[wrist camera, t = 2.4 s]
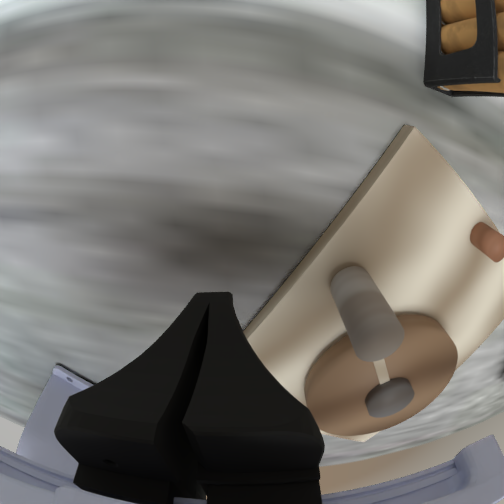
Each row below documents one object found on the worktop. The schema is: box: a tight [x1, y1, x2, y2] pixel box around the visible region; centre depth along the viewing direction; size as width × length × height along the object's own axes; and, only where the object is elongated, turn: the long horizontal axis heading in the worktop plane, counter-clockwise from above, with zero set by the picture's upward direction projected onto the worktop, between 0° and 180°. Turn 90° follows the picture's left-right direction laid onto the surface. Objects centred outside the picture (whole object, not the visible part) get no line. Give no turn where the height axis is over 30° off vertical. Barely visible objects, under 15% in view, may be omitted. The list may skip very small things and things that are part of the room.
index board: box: [243, 125, 504, 442], centre depth 16 cm, size 16×19×3 cm
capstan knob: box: [304, 266, 458, 436], centre depth 14 cm, size 14×10×4 cm
